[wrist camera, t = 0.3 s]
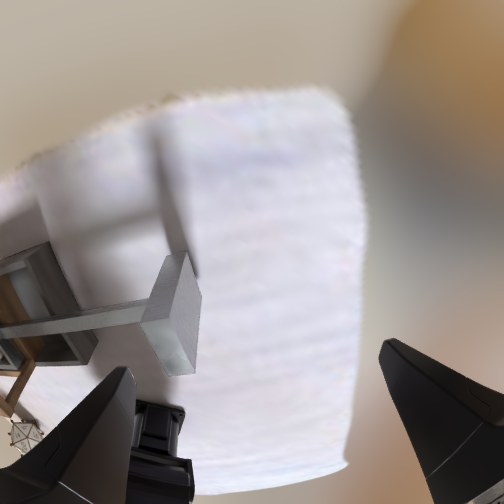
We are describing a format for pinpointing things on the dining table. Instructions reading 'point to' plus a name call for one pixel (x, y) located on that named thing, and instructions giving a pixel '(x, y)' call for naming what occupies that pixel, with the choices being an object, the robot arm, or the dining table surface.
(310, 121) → the dining table surface
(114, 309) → the slider
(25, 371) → the tunnel
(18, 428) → the game die
